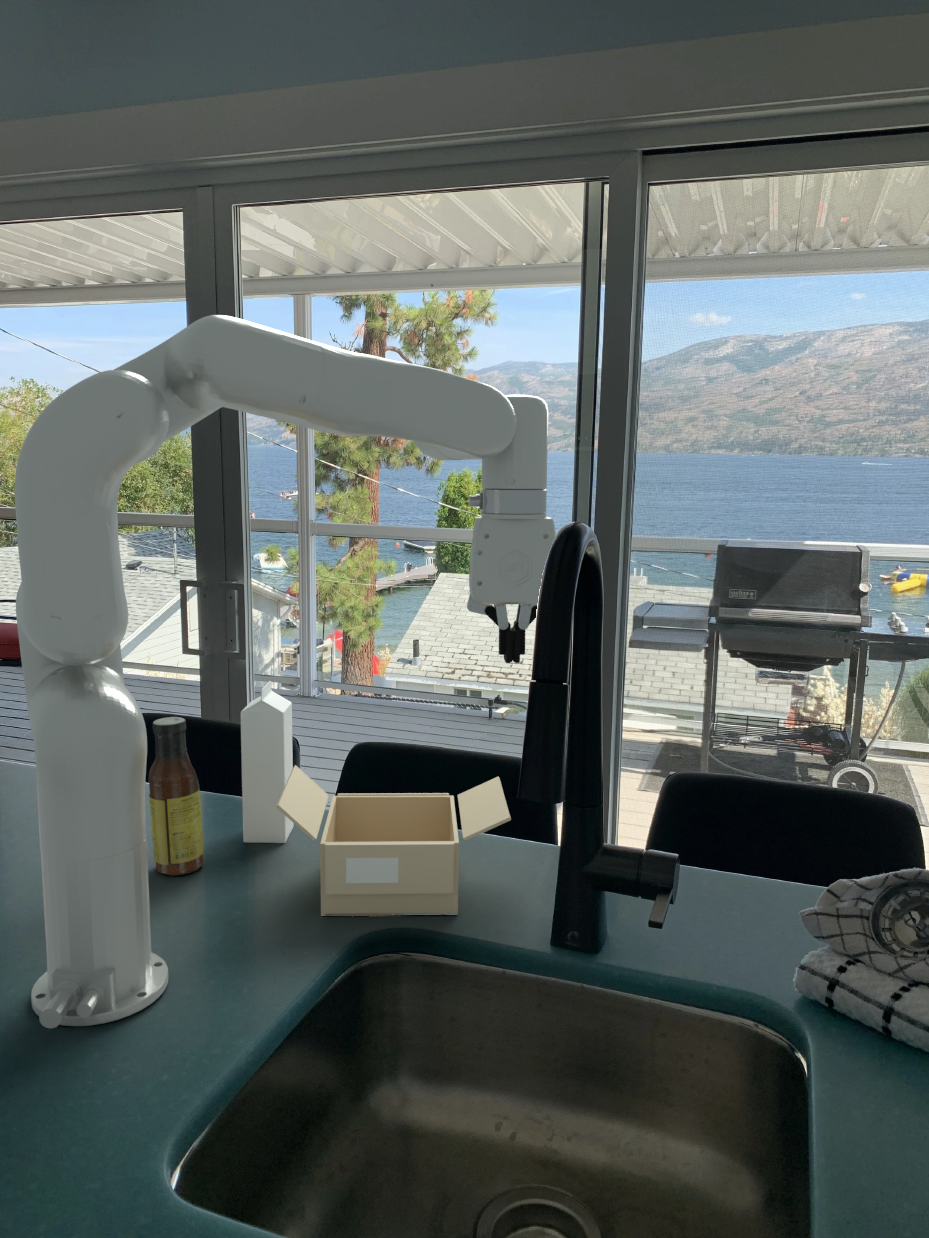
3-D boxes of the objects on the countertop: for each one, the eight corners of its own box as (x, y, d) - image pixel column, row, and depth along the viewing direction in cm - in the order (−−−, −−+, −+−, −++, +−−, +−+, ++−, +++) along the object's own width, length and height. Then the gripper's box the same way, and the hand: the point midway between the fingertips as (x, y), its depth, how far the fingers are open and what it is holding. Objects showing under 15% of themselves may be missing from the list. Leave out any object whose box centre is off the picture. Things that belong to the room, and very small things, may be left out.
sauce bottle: (211, 859, 121) (207, 714, 118) (193, 879, 115) (188, 727, 112) (164, 856, 122) (159, 712, 119) (143, 876, 116) (137, 725, 113)
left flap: (328, 795, 119) (326, 797, 119) (295, 764, 119) (293, 766, 119) (316, 839, 105) (314, 841, 105) (278, 804, 104) (275, 807, 104)
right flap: (463, 838, 106) (464, 841, 106) (509, 817, 106) (511, 819, 106) (457, 794, 120) (458, 797, 120) (498, 776, 120) (499, 778, 120)
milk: (243, 843, 127) (238, 689, 123) (253, 826, 133) (249, 679, 129) (286, 843, 127) (282, 690, 123) (294, 827, 133) (291, 680, 129)
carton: (458, 918, 106) (459, 844, 104) (320, 920, 105) (319, 845, 104) (452, 857, 123) (453, 793, 122) (333, 858, 122) (333, 793, 121)
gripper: (450, 506, 101) (450, 668, 103) (584, 506, 102) (579, 667, 104) (447, 504, 108) (447, 655, 111) (572, 504, 109) (568, 654, 112)
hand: (511, 660), depth 108 cm, fingers closed
